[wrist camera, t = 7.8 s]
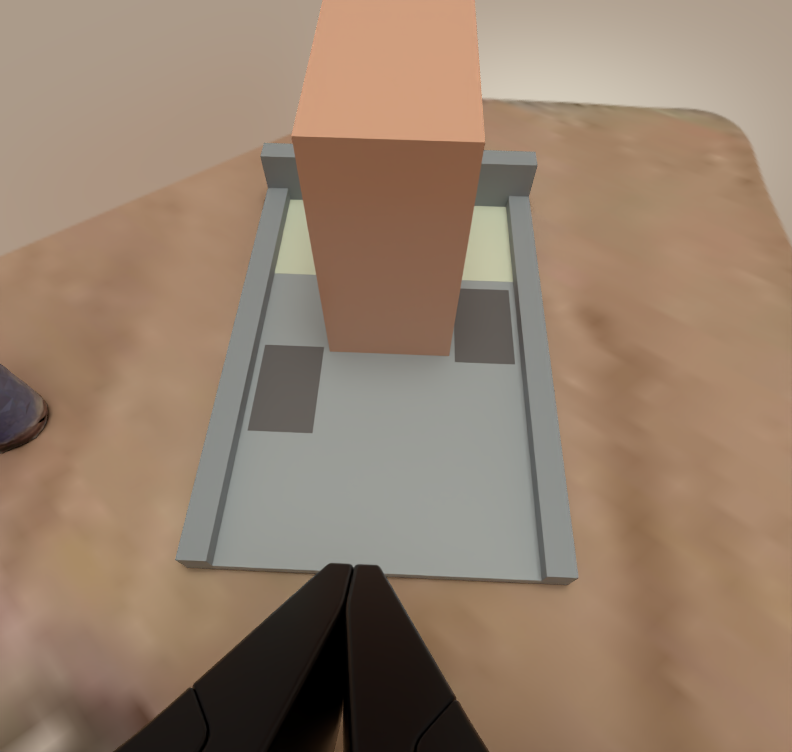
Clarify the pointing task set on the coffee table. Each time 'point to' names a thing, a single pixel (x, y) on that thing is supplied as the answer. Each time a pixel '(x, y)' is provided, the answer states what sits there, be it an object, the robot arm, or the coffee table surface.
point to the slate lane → (387, 417)
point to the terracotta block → (390, 168)
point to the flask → (19, 411)
